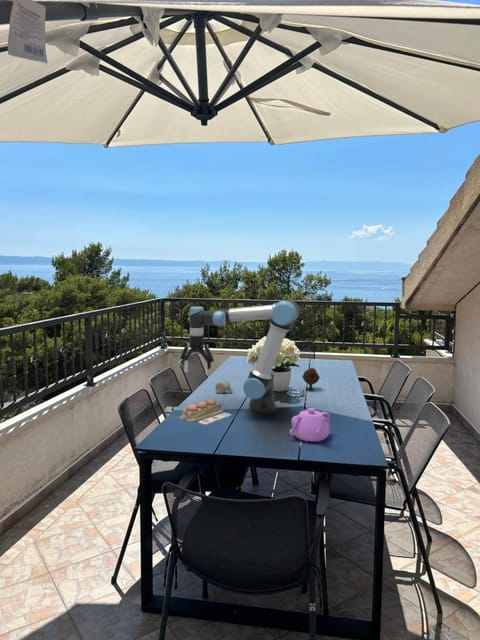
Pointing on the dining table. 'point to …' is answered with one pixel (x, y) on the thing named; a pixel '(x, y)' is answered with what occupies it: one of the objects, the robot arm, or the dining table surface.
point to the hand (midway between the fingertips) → (196, 373)
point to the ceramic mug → (223, 387)
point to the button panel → (201, 413)
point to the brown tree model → (311, 378)
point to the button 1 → (192, 407)
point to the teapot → (310, 425)
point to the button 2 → (210, 402)
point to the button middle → (201, 404)
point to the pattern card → (214, 418)
